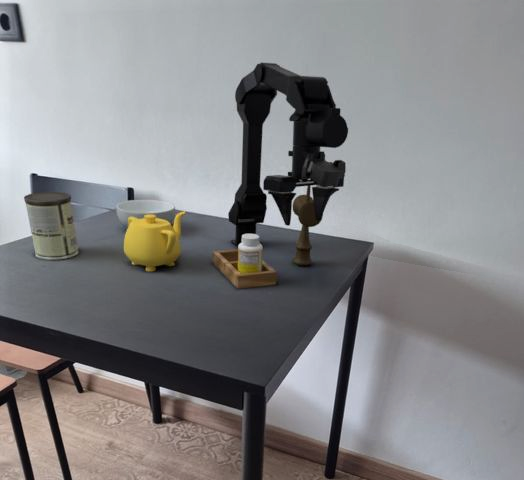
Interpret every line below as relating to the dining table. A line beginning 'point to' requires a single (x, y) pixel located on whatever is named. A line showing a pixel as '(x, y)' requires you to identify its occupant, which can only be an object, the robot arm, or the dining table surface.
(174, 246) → the teapot
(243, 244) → the supplement bottle
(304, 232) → the kendama
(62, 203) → the coffee can
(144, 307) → the dining table surface
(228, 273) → the caddy
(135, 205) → the cereal bowl
